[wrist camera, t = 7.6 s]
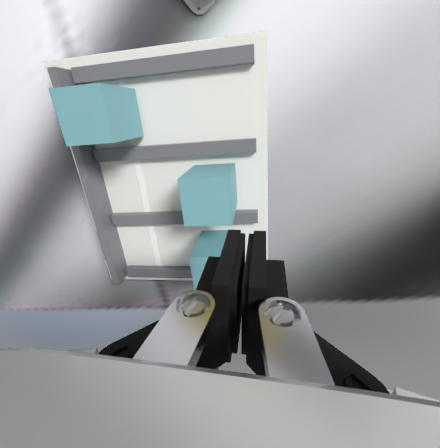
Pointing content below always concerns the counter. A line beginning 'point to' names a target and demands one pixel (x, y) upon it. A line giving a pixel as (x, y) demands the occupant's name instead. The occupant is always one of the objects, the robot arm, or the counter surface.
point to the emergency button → (199, 5)
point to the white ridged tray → (173, 147)
